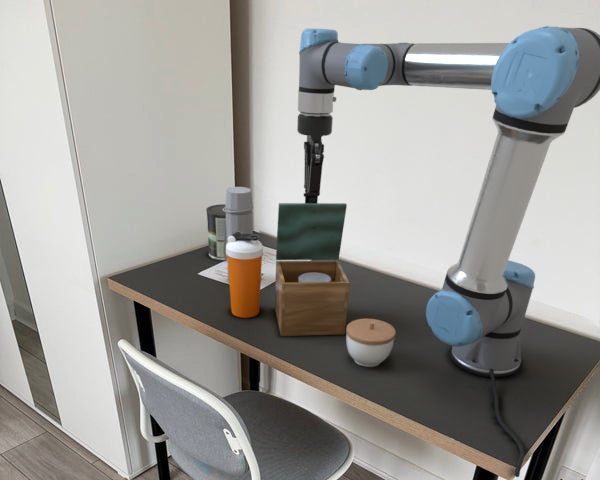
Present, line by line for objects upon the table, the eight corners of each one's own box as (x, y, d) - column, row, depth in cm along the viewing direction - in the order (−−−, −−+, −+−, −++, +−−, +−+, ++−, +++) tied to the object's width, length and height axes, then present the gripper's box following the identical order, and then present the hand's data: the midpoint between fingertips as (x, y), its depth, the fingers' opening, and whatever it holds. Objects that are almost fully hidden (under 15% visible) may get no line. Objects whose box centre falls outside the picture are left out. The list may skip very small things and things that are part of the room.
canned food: (334, 320, 146) (338, 279, 140) (312, 330, 141) (314, 287, 135) (312, 310, 150) (315, 269, 144) (290, 319, 146) (291, 277, 139)
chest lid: (346, 205, 134) (346, 203, 134) (279, 205, 132) (278, 203, 132) (338, 259, 145) (338, 257, 146) (276, 260, 143) (275, 258, 144)
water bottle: (259, 279, 168) (259, 189, 154) (242, 288, 162) (240, 195, 148) (233, 271, 172) (231, 183, 158) (216, 280, 166) (212, 189, 152)
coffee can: (202, 256, 180) (199, 210, 172) (219, 246, 188) (217, 202, 180) (231, 262, 177) (230, 216, 169) (247, 252, 185) (247, 207, 177)
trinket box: (353, 344, 138) (357, 307, 132) (397, 355, 134) (403, 318, 129) (336, 364, 130) (339, 326, 124) (382, 377, 126) (387, 338, 121)
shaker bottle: (257, 321, 145) (257, 243, 134) (223, 317, 147) (220, 238, 136) (266, 306, 153) (267, 231, 142) (233, 302, 154) (231, 227, 143)
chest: (344, 334, 142) (349, 282, 134) (280, 336, 140) (282, 283, 132) (334, 309, 153) (338, 260, 146) (275, 310, 151) (276, 261, 144)
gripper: (338, 119, 121) (330, 232, 134) (327, 109, 131) (321, 215, 144) (302, 118, 120) (297, 232, 133) (294, 108, 130) (291, 215, 144)
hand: (310, 223), depth 139 cm, fingers closed
